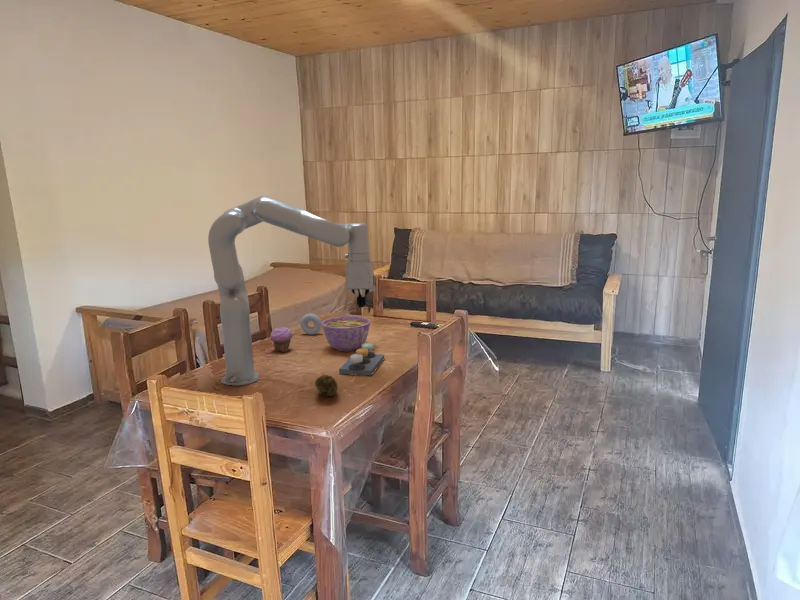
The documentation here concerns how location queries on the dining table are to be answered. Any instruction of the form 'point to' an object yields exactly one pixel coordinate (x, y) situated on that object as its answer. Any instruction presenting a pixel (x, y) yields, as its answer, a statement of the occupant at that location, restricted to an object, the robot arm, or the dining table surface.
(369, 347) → the button sage
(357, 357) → the button white
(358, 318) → the bowl of food
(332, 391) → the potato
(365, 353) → the button orange
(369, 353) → the button panel
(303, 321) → the donut
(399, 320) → the dining table surface
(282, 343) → the cupcake
